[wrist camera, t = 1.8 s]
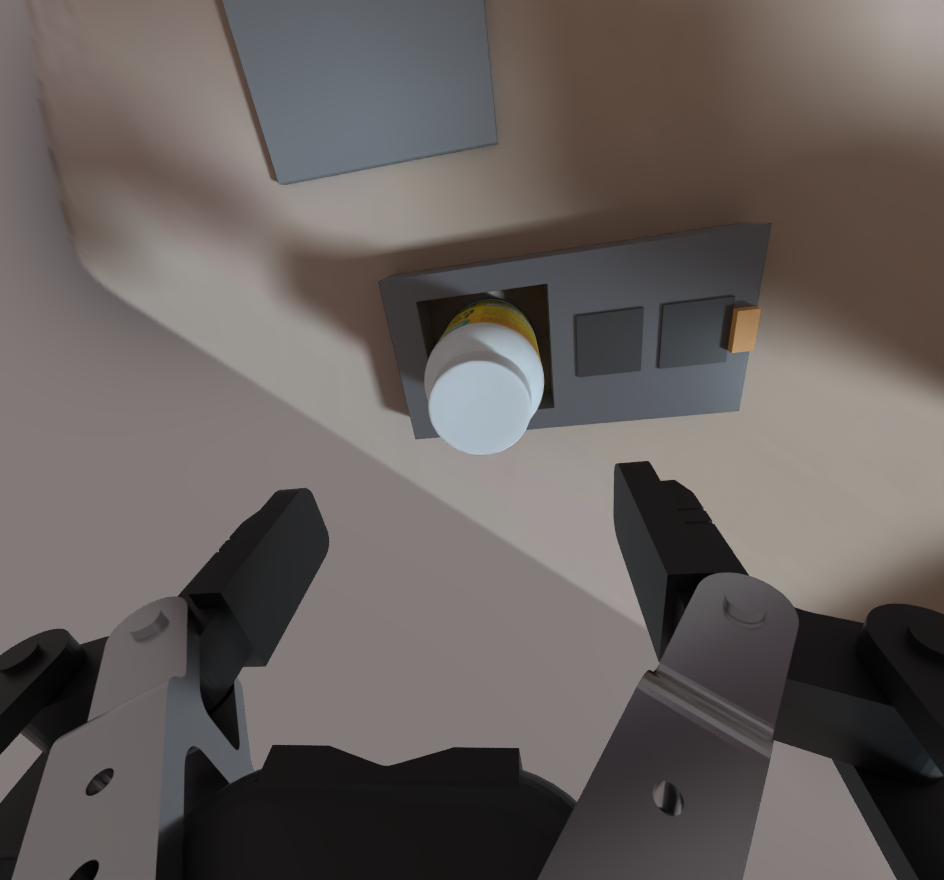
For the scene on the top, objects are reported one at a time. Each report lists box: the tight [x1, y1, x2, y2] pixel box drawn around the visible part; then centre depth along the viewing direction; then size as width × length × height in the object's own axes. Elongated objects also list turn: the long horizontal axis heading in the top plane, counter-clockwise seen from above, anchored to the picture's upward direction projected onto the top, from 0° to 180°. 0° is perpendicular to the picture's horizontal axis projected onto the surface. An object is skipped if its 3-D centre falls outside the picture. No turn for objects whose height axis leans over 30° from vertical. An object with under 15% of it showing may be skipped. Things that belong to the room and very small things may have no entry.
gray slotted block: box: [378, 223, 771, 439], centre depth 22 cm, size 18×9×3 cm, turn 98°
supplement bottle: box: [424, 299, 544, 455], centre depth 20 cm, size 5×5×10 cm
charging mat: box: [222, 0, 498, 185], centre depth 17 cm, size 11×11×1 cm
